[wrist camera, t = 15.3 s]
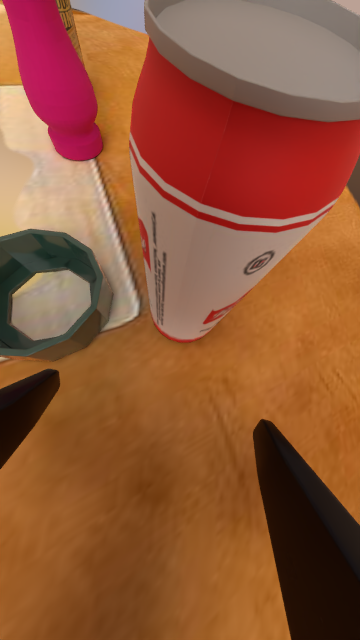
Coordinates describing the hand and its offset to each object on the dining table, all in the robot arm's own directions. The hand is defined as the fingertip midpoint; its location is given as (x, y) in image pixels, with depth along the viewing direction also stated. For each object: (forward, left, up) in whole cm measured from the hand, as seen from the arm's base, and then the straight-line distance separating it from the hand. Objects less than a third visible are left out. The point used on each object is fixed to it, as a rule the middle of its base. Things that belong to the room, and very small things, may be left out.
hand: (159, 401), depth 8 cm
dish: (+13, -1, -9) cm, 16 cm away
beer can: (+2, -7, -9) cm, 12 cm away
